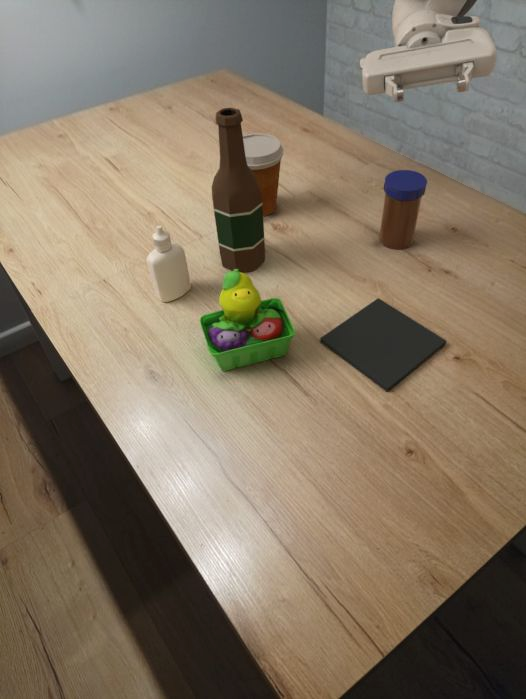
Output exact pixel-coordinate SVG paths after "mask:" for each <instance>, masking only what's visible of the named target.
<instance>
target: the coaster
mask: <svg viewBox="0 0 526 699" xmlns="http://www.w3.org/2000/svg"><path fill="white" fill-rule="evenodd" d="M319 342H320V343H321V344H322V345H323V346H325V347H326V348H327V349H329V350H330V351H331V352H332V353H334V354H335V355H337V356H338V357H339V358H341V359H342V360H344V361H345V362H346V363H347V364H349V365H350V366H351V367H353V368H355V369H356V370H357V371H359V372H360V374H362V375H363V376H365V377H366V378H368V379H369V380H370V381H372V382H373V383H374V384H376V385H377V386H378V387H379V388H381V389H382V390H383V391H385V392H386V393H388V392H390V391H391V390H392V389H393V388H394V387H396V386H397V385H398V384H400V382H402V381H403V380H404V379H405V378H407V377H408V376H409V375H410V374H412V373H413V372H414V371H415V370H417V369H418V368H419V367H420V366H421V365H423V364H424V363H425V362H426V361H427V360H429V359H430V358H431V357H432V356H434V355H435V354H436V353H437V352H439V351H440V350H441V349H442V348H444V347H445V346H446V344H447V340H446V339H444V338H443V337H441V336H440V335H438V334H437V333H435V332H433V331H432V330H430V329H428V328H427V327H425V326H423V325H422V324H420V323H419V322H418V321H415V320H414V319H413V318H411V317H409V316H408V315H406V314H405V313H403V312H401V311H400V310H398V309H397V308H395V307H393V306H392V305H391V304H389V303H387V302H385V301H384V300H382V298H381V299H380V298H379V297H378V298H376V299H374V300H373V301H371V302H369V304H367V305H366V306H365V307H363V308H362V309H360V310H359V311H357V312H355V313H354V314H353V315H351V316H350V317H349V318H348V319H346V320H344V321H343V322H341V323H340V324H339V325H338V326H336V327H334V328H333V329H331V330H330V331H329V332H327V333H326V334H324V335H322V336H321V337H320V339H319Z"/></svg>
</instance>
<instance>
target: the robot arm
mask: <svg viewBox="0 0 526 699" xmlns="http://www.w3.org/2000/svg"><path fill="white" fill-rule="evenodd" d="M477 1H478V0H395V1H394V3H393V9H392V14H391V29H392V35H393V47H388V48H383V49H378V50H377V49H376V50H374V51H371V52H369V53H367V55H366V56H365V57H362V58H360V60H359V70H360V72H361V74H362V76H361V77H362V92H363V93H365V94H366V95H368V96H372V95H378V94H384V93H385V94H386V95H388V96H389V97H391V98H393V103H399V102H404V101H405V100H404V99H405V97H404V96H405V94H404V93H405V91H404V90H410V89H415V88H421V87H427V86H433V85H434V86H435V85H440V84H441V85H442V84H446V83H454V82H456V91H457V92H456V93H463V92H468V91H469V85H470V83H471V82H472V81H473V79H477V78H483V77H488V76H489V77H490V75H491V74H492V73H493V72H494V70H495V67H496V60H497V47H496V45H495V42H494V40H493V38H492V36H491V35H490V33H489V32H488V31H487V30H486V29H485V28H482V27H481V19H480V17H479V16H476V15H470V16H469V15H467V13H469V11H470V10H472V8H473V6H474V5H476V3H477ZM466 15H467V16H466Z"/></svg>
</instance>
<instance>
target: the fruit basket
mask: <svg viewBox="0 0 526 699" xmlns="http://www.w3.org/2000/svg"><path fill="white" fill-rule="evenodd" d="M233 271H234V272H233ZM233 271H228V272H227V273H225V275H224V277H223V282H222V290H221V291H220V294H219V299H218V303H219V306H220V307H221V310H218V311H213V312H209V313H206V314H203V315H201V316H200V317H199V324H200V326H201V329H202V333H203V336H204V340H205V343H206V346H207V350H208V352H209V354H210V355H211V356H212V357H213V358H214V360H215V361H216V363H217V365H218V367H219V369H220V371H222V372H226V371H230V370H234V369H235V368H242V367H247V366H250V365H252V364H254V363H261V362H266V361H269V360H271V359H276V358H281V357H284V356H286V354H287V352H288V350H289V347H290V344H291V341H292V339H293V338H294V336H295V334H296V329H295V327H294V325H293V323H292V320H291V318H290V316H289V314H288V312H287V311H286V308H285V305H284V304H283V302H282V300H281V299H280V298H278V297H271V298H268V299H263V300H262V297H261V294H260V293H259V290H258V289H257V288H256V287H255V285H253V281H252V279H251V277H250V276H249V275H248V274H246V273H245V272H239V269H234V270H233Z"/></svg>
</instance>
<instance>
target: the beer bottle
mask: <svg viewBox="0 0 526 699" xmlns="http://www.w3.org/2000/svg"><path fill="white" fill-rule="evenodd" d="M214 120H215V124H216V125H217V127H218V130H217V131H218V144H219V145H218V147H219V166H218V167H219V168H218V169H217V172H216V173H215V174H214V176H213V180H212V183H211V184H212V185H211V199H212V200H211V201H212V206H213V213H214V222H215V226H216V227H215V228H216V235H217V243H218V250H219V255H220V261H221V266H222V267H223V268H225V269H227V270H229V271H230V272H234V271H233V270H234V269H239V272H241V273H247V272H254V271H256V270H257V269H258V268H259V267H260V266H261V265H262V264H263V263H264V262H265V261H266V242H265V226H264V225H265V224H264V216H263V206H262V197H261V191H260V187H259V184H258V181H257V178H256V176H255V174H254V172H253V171H252V170H251V169H250V168H249V166H248V165H247V162H246V156H245V149H244V142H243V135H244V134H243V128H242V122H243V121H244V119H243V115H242V113H241V109H239V108H234V107H225V108H221V109H219V110H217V111H216V112H215V119H214Z"/></svg>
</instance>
